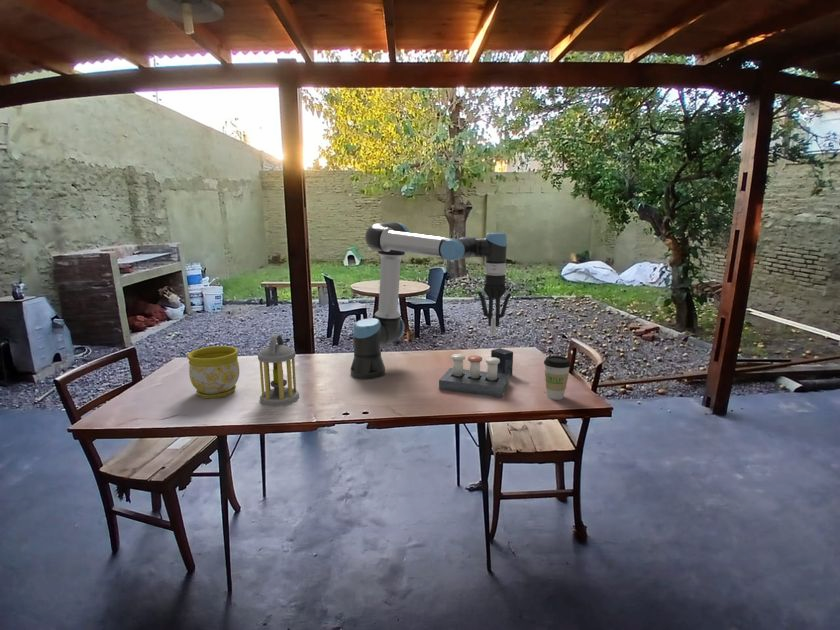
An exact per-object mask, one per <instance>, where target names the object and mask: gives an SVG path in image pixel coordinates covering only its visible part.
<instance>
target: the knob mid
mask: <svg viewBox="0 0 840 630" xmlns="http://www.w3.org/2000/svg"><path fill="white" fill-rule="evenodd" d="M467 360H468V361H469V370H470V377H471V378H479V377H480V371H481V362H482V361H483V356H481V355H469V356H467Z"/></svg>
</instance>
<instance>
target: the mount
mask: <svg viewBox="0 0 840 630" xmlns="http://www.w3.org/2000/svg"><path fill="white" fill-rule="evenodd" d="M509 384H510V376H509V374H501V373H497V380H488V379H487V371H482V370H480V377H479V378H471V377H470V369H464V368H463V375H462V376H454V375H453V367H449V368H448V369H447V371H446V372H445V373H444V374H443V375H442V377H440V378H439V380H438V390H439V391H446V392H454V393H463V394H470V395H478V396H484V397H485V396H486V397H491V398H492V397H493V398H503V396H504V394H505V392H506V390H507V388H508V386H509Z"/></svg>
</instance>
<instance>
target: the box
mask: <svg viewBox="0 0 840 630" xmlns="http://www.w3.org/2000/svg"><path fill="white" fill-rule="evenodd" d="M490 352H491V353H490V354H491V355H490V357H494V358H498V359H500V363H498V366H497V373H501V374H509V377H510V376H513V370H514V369H513V367H514V366H513V365H514V364H513V363H514V351H512V350H508V349H504V348H501V347H499V348H494V349H491V351H490Z"/></svg>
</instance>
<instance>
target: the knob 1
mask: <svg viewBox="0 0 840 630" xmlns="http://www.w3.org/2000/svg"><path fill="white" fill-rule="evenodd" d="M450 358H451V360H452V368H453V375H454V376H462V375H463V369H464V360H465V359H466V355H465V354H463V353H454V354H451V356H450Z"/></svg>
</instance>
